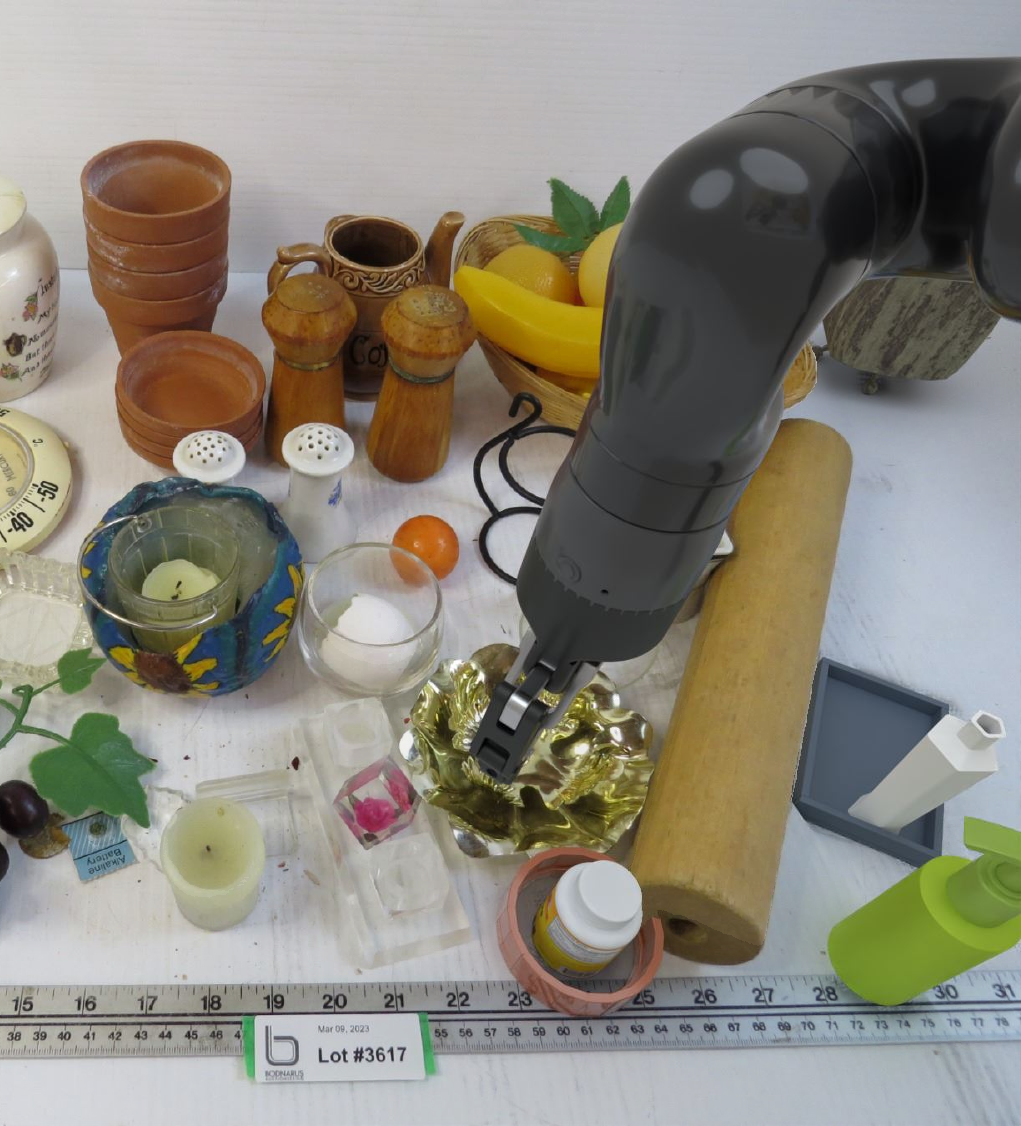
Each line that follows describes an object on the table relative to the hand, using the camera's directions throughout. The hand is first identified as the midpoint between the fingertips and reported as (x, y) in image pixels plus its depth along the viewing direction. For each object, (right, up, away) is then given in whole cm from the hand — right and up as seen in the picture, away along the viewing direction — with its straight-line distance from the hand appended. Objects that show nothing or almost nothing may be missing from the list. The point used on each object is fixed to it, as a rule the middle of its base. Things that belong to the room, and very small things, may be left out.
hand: (533, 721), depth 56 cm
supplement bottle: (+6, -18, +12) cm, 22 cm away
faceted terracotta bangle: (+6, -18, +12) cm, 22 cm away
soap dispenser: (+26, -19, +12) cm, 35 cm away
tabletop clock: (+53, +30, +54) cm, 81 cm away
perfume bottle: (+32, -11, +19) cm, 38 cm away
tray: (+33, -7, +22) cm, 41 cm away
